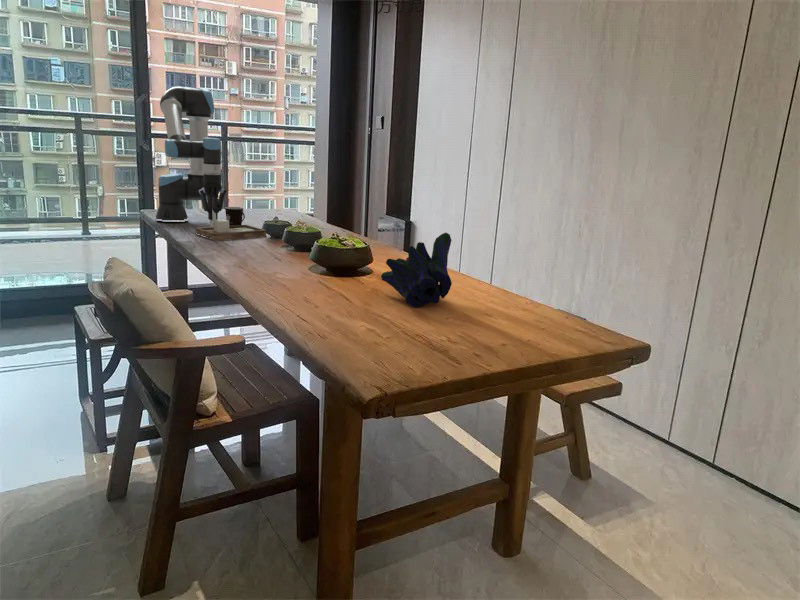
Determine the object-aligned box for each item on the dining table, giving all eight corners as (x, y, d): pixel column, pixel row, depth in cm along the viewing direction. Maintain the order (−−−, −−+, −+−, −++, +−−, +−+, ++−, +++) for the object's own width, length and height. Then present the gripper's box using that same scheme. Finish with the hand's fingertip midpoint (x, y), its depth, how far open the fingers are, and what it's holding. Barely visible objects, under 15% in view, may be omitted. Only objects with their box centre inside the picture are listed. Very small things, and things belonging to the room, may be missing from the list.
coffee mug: (223, 227, 305) (223, 206, 302) (241, 227, 308) (241, 206, 306) (228, 231, 295) (227, 210, 292) (246, 230, 298) (246, 210, 296)
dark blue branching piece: (400, 335, 189) (386, 286, 215) (480, 307, 189) (457, 261, 214) (378, 281, 178) (366, 236, 203) (464, 250, 177) (441, 209, 203)
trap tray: (195, 234, 280) (195, 228, 279) (246, 230, 298) (246, 224, 298) (214, 240, 269) (214, 234, 268) (266, 236, 287) (266, 230, 286)
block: (213, 230, 281) (213, 219, 280) (224, 230, 285) (224, 219, 283) (218, 232, 278) (218, 221, 276) (229, 232, 281) (229, 221, 280)
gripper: (202, 174, 267) (203, 229, 273) (230, 174, 275) (230, 227, 282) (194, 173, 272) (195, 226, 278) (221, 173, 281) (222, 225, 287)
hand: (213, 227), depth 280 cm, fingers closed
